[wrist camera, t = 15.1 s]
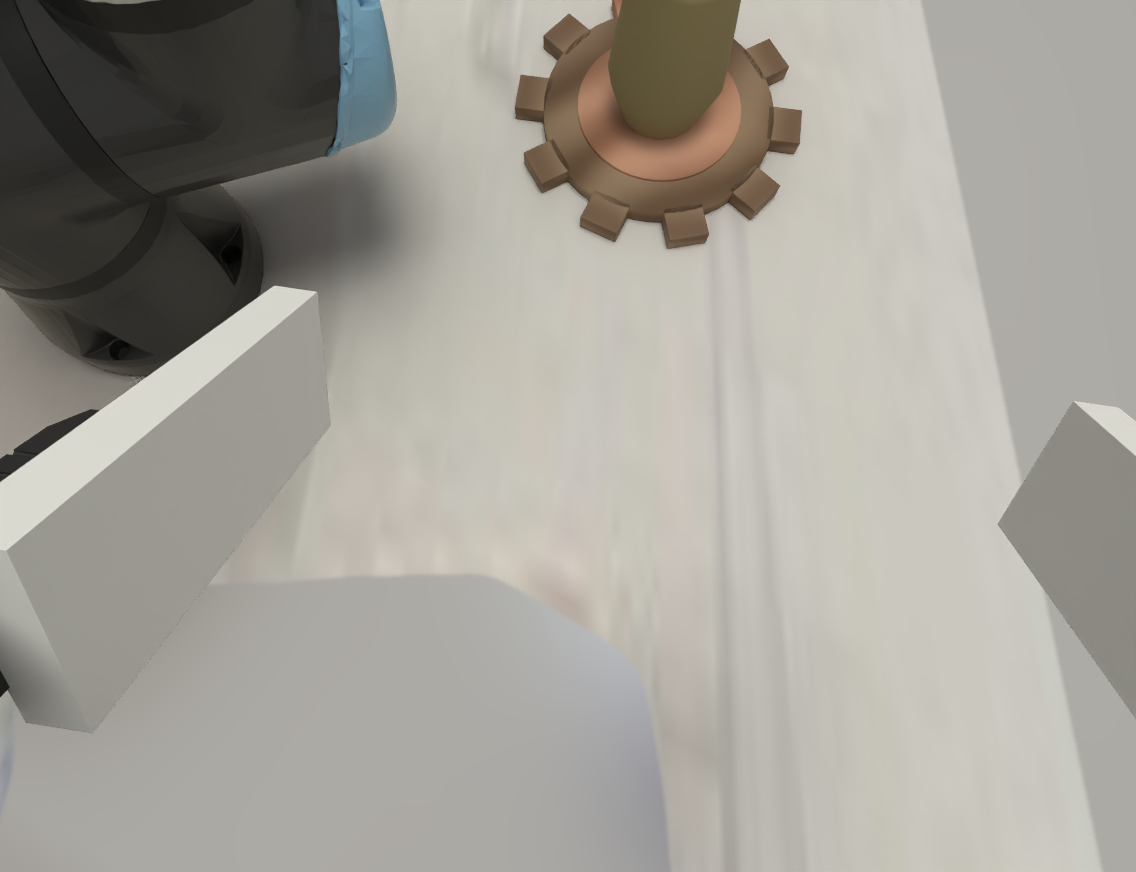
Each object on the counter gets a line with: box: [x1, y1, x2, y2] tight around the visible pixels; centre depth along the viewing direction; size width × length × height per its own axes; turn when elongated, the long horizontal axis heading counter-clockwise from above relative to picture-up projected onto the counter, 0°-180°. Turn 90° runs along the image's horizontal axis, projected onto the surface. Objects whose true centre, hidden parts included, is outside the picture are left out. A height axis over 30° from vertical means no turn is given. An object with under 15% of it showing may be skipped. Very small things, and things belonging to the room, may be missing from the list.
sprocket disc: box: [515, 0, 802, 248], centre depth 49 cm, size 21×21×2 cm
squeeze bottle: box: [608, 0, 741, 140], centre depth 39 cm, size 8×8×18 cm
